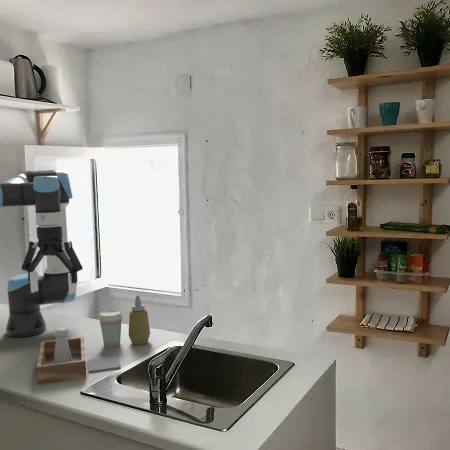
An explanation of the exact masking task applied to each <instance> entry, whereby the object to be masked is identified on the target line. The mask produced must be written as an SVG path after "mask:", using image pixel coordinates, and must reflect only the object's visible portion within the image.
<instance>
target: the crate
mask: <svg viewBox="0 0 450 450" xmlns="http://www.w3.org/2000/svg"><path fill="white" fill-rule="evenodd" d="M67 341H68V345H69V349H70V353H71V355H78V354H79V355H81V360H79V359H78V360H75V361H74V360H72V361H71V362H64V363H56V364H54V363H50V364H46V358H51V357H53V358H54V354H55V345H56V339H51V340H44V341H41V342H40V346H39V351H38V357H37V363H36V368H35V370H36V379H37V385H46V384H53V383H59V382H67V381H74V380H83V379H87V377H88V376H87V362H86V361H87V360H86V346H85V345H86V344H85V336H80V337H79V336H78V337H70V338H67Z"/></svg>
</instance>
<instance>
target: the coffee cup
mask: <svg viewBox="0 0 450 450" xmlns="http://www.w3.org/2000/svg"><path fill="white" fill-rule="evenodd" d="M121 312H122V311H120V310H115V309H112V310H111V309H110V310H104V311H101V312H100V313H99V317H98V321H99V323H100V324H99V325H100V330H101V335H102V341H103V346H104V347H106V348H115V347H118V346H119V345H120V344H121V334H122V319H123V314H122V313H121Z"/></svg>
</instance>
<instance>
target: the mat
mask: <svg viewBox="0 0 450 450" xmlns="http://www.w3.org/2000/svg"><path fill="white" fill-rule="evenodd" d="M87 364H88V365H87V367H88V373H97V372H104V371H113V370H118V369H119V370H120V369H121V362H120V359H119V355H114V356H113V355H112V356H107V357H98V358H92V359H91V358H90V359H87Z"/></svg>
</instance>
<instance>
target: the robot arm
mask: <svg viewBox="0 0 450 450" xmlns="http://www.w3.org/2000/svg"><path fill="white" fill-rule="evenodd" d="M69 177H70V176H69V173H68V172H67V171H66V170H61V169H59V170H58V169H48V170H24V171H20V172H17V173H13V174H11V175H8V176H7V177H6V178H4V180H3V182H0V208H5V207H9V208H10V207H24V206H25V207H29V206H34V209H35V222H36V223H35V225H36V226H37V227H36V238H37V240H36V239H35V240H31V241H28V250H27V252H26V255H25V258H24V260H23V262H22V266H21V269H22V270H23V271H26V273H21V274H18V275H15V276H13V277H10V278H9V279H8V280H7V289H6V292H7V300H8V312H9V316H8V320H7V323H6V327H5V335H6V336H8V337H10V338H25V337H26V338H27V337H33V336H37V335H40V334H42V333H43V332H45V331H46V330H47V323H46V320H45V318H44V315H43V313H42V312H41V306H42V305H43V306H44V305H52V304H54V305H55V304H60V303H61V304H65V303H71V302H74V301H75V300H76V297H77V285H78V284H77V283H78V272H80V271H82V270H83V266H82V264H81V262H80V259H79V257H78V256H77V253H76V252H75V250H74V248H73V243H72V242H73V241H71V240H68V228H67V212H66V211H67V210H66V208H67V206H68V205H69V204H70V200H71V199H73V193H72V188H71V182H70V178H69ZM37 248H39V250H38V251H37ZM36 251H37V252H36ZM35 254H36V255H35ZM45 256H46V268H45V269H44V270H43V275H39V274H38V270H37V269H36V268H37V267H38V266H39V264H40V263H41V261H42V260H43V258H44V257H45Z"/></svg>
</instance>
